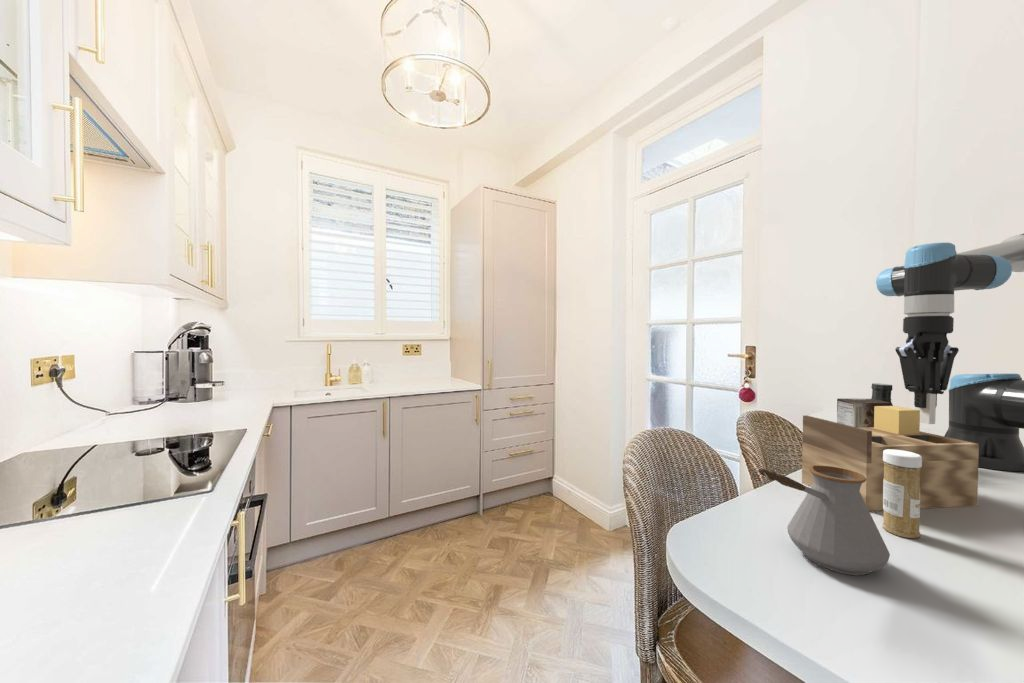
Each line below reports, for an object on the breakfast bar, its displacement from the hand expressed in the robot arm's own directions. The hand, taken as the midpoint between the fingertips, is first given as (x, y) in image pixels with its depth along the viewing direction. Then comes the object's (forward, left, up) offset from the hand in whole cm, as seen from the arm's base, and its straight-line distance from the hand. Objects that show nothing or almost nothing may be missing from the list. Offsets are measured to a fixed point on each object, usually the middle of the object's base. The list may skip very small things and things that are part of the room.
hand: (924, 422), depth 85 cm
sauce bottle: (-10, -18, -14) cm, 25 cm away
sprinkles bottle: (+28, +18, -14) cm, 36 cm away
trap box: (+14, +4, -14) cm, 20 cm away
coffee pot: (+51, +25, -14) cm, 59 cm away
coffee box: (-2, -15, -14) cm, 21 cm away
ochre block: (+7, 0, -2) cm, 7 cm away
